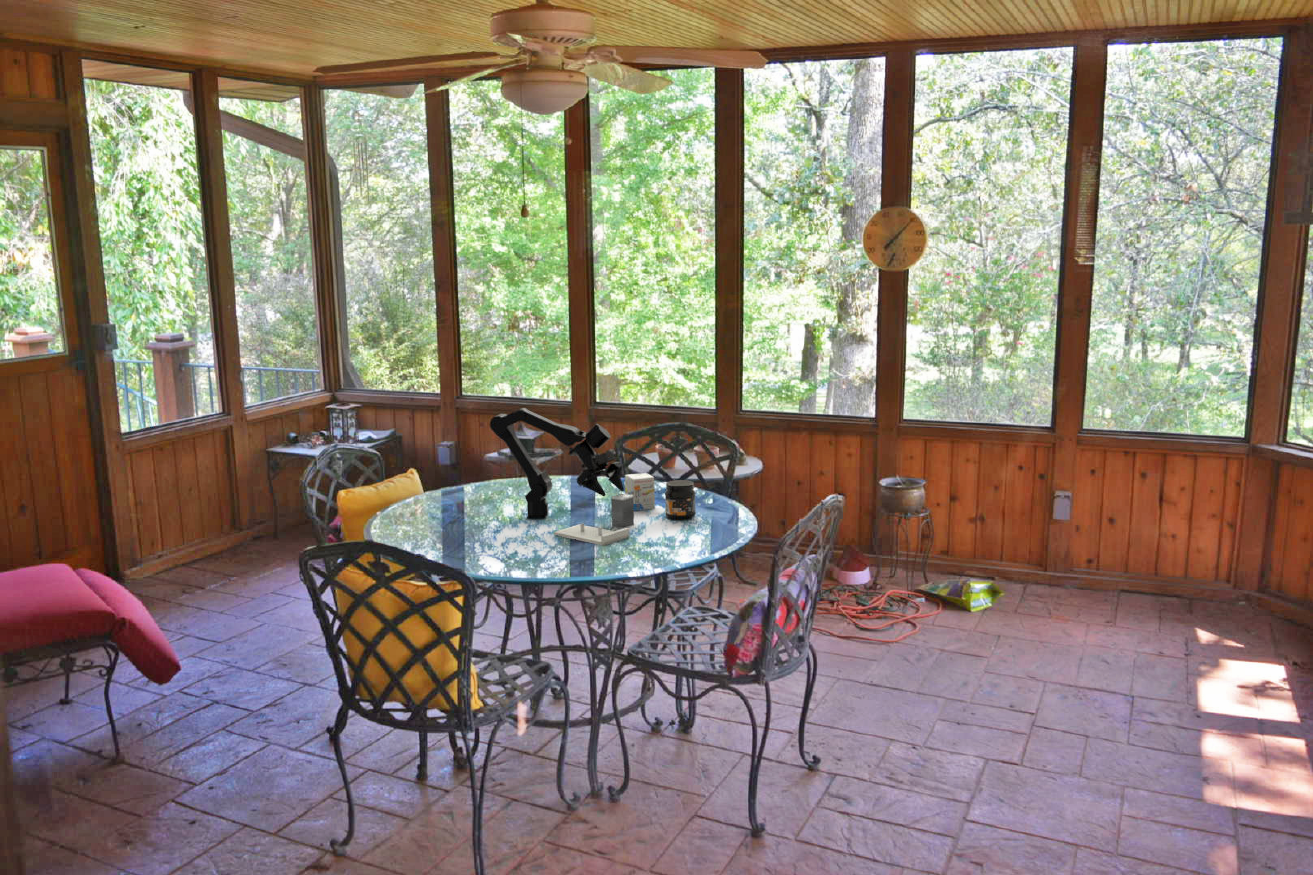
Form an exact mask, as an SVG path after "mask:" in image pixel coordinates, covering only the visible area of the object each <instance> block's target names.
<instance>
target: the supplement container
mask: <svg viewBox="0 0 1313 875" xmlns="http://www.w3.org/2000/svg"><path fill="white" fill-rule="evenodd" d="M665 486H666V487H665V488H666V490H665V492H664V496H665V500H664V501H665V502H664V504H665V512H664V514H665V516H666V517H667V518H668V519H670V520H674V519H675V521H684V520H685V519H686V520H690V519H692V518H694V517H695V516H696V515H697V513H696V491H695V490H694V489H695V483H694V481H691V480H685V479H678V480H677V479H675V480H670V481H666V485H665ZM686 520H685V521H686Z"/></svg>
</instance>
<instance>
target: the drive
mask: <svg viewBox="0 0 1313 875" xmlns="http://www.w3.org/2000/svg"><path fill="white" fill-rule="evenodd" d="M610 501H611V502H610V504H611V507H610V508H611V527H616V528H621V529H624V528H629V527H630V526H634V525H635V520H634V519H635V517H634V515H635V513H634V512H635V511H634V506H633V495H627V494H625V493H620V494H615V495H612V496H611V497H610Z"/></svg>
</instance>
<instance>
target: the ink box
mask: <svg viewBox="0 0 1313 875" xmlns="http://www.w3.org/2000/svg"><path fill="white" fill-rule="evenodd" d="M655 489H656V488H655V477H654V476H653V475H651V474H650V473H648V472H645V473H643V472H642V473H631V474H624V494H627V495H633V506H634V512H636V511H643V509H645V510H652V509H656V498H655Z"/></svg>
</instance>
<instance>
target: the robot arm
mask: <svg viewBox="0 0 1313 875" xmlns="http://www.w3.org/2000/svg"><path fill="white" fill-rule="evenodd" d="M518 422H523V423H525V424H527V425H530V426H532V427H534V428H536V429H539V430H540V431H543V432H546V433H548V434H550V435H551V436H553V437H554V438H555V439H556V440H557V441H558V442H560V443H561V444H563V445H564V446H568V447H569V450H568V451H569V452H568V455H569V456H573V457H575V456H577V458H578V459H579V461H580V462H581V468H582V469H584V470H582V471H581V472H580V474H579V475H578V476H577V478H576V483H577V485H578V486H579V487H583V488H586V489H589V490H591V491H592V492H594V493H597V494H598V495H600V496H602V497H605V496H607V494H606V492H605V490H604V488H603V487H602V485H601V483H600V482H599V481H598V477H602V476H605V477H606V478H608V481H609V482H610V483H611V484H612V485H614V487H616V488H617V489H618V490H619V491H620V492H624V491H625V487H624V485H623V481H622V479H621V478H622V477H621V473H622V471H623V469H624V465H623V463H622V462H621V461H615V460H616V458H617V453H616V451H615V450H614V449H613V448H610V449H608V450H606V451H605V452H602V453H596V452H595V450H594V449H598V450H600V448H602V446H604V445H605V444H606V443H607V442H608V441H609V440H610V439H611V438H612V436H611V434H610V433H609V431H608V430H607V429H606V428H605V427H603V426H601V425H600V424H599V423H596V424H595V425H594V426H593V427H592V428H591V429H590V430H589V431H583V430H580V429H579V428H577V427H575V426H573V425H569V424H563V423H558V422H555V421H553V420H550V419H549V418H546V417H544V416H542V415H539V414H538V413H535V412H533V411H530V410H529V409H527V408H526V407H522V408H519V409H517V410H515V411H512V412H510V413H508V414H506V413H500V414H498V415H495V416H493V417H492V418H491V419H490V422H489V427H490V429H491V431H492V432H493V433H494V434H495V435H496V436H497V437H498V438H499V439H500V440H502V441H503V442H504V443H505V444H506V446H507V448H508V449H509V451H510V452H511V454H512V455H513V457H514V458H515V460H516V462H517V463H518V464H519V466H520V468H521V469H522V471H523V472H524V474H525V475H526V479H527V483H528V486H529V488H530V491H529V492H528V493H526V494H525V496H524V497H525V501H526V503H527V516H526V519H546V518H547V517H548V515H549V503H548V502H547V496H548V493H549V492H551V490H552V489H553V482H552V478H551V477H550V475H549V474H548V472H547V470H545V469H544V470H543V471H541V470H540V469H539V468H538V467H537V465H536V464H535V463H534V460H533V459H532V458H531V456H530V455H529V452H528V451H527V450H526V448H525V447H524V445H523V444H522V442H521V440H520V438H518V436H517V434H516V430H515V426H514V424H517V423H518ZM576 443H577V444H576ZM572 446H574V447H572ZM611 461H615V462H611ZM609 462H610V464H609ZM607 466H608V467H607Z"/></svg>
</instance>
